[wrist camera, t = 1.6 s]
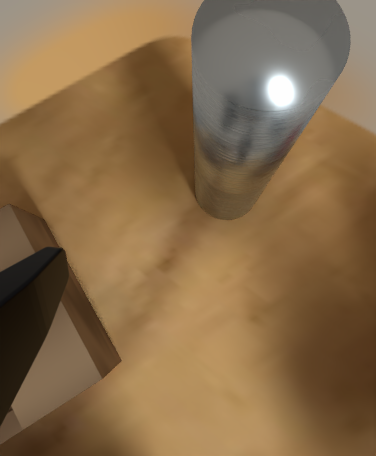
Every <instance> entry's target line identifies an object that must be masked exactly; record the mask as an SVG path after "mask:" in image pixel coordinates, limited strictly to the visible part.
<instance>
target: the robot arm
mask: <svg viewBox="0 0 376 456" xmlns="http://www.w3.org/2000/svg"><path fill="white" fill-rule="evenodd" d="M68 279H69V269H68V263H67V258H66V253H65V250H64V249H63V248H59V247H51V246H48V247H45V248H43V249H41V250H39V251H37V252H36V253H34V254H32V255H30V256H28V257H26V258H25V259H23V260H21V261H19V262H17V263H15V264H14V265H12V266H10V267H8V268H6V269H4V270H3V271H1V272H0V427H1V425H2V423H3V421H4V419H5V417H6V415H7V413H8V411H9V409H10V407H11V405H12V403H13V401H14V399H15V397H16V395H17V393H18V392H19V390H20V388H21V386H22V384H23V382H24V380H25V378H26V376H27V374H28V372H29V370H30V368H31V366H32V364H33V362H34V360H35V358H36V356H37V354H38V352H39V351H40V349H41V347H42V345H43V343H44V341H45V339H46V336H47V334H48V332H49V330H50V327H51V325H52V322H53V319H54V317H55V314H56V311H57V309H58V306H59V304H60V301H61V298H62V296H63V293H64V290H65V288H66V285H67V282H68Z"/></svg>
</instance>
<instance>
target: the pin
mask: <svg viewBox="0 0 376 456" xmlns="http://www.w3.org/2000/svg"><path fill="white" fill-rule="evenodd" d="M191 41H192V83H193V125H194V168H195V194H196V198H197V201H198V203H199V205H200V206H201V208H202V209H203V210H204V211H205V212H206V213H207V214H209V215H210V216H212V217H214V218H217V219H222V220H232V219H236V218H239V217H241V216H243V215H245V214H246V213H247V212H248V211H249V210H250V209H251V208H252V207H253V205H254V204H255V202H256V201H257V199H258V198H259V196H260V195H261V193H262V192H263V190H264V189H265V187H266V186H267V184H268V183H269V181H270V180H271V178H272V177H273V175H274V174H275V172H276V171H277V169H278V168H279V166H280V165H281V163H282V161H283V160H284V158H285V157H286V155H287V154H288V152H289V151H290V149H291V148H292V146H293V145H294V143H295V142H296V140H297V139H298V137H299V136H300V134H301V133H302V131H303V130H304V128H305V127H306V125H307V124H308V122H309V121H310V119H311V118H312V116H313V115H314V113H315V112H316V110H317V109H318V107H319V106H320V104H321V103H322V101H323V99H324V98H325V96H326V95H327V94H328V92H329V90H330V89H331V87H332V86H333V84H334V83H335V81H336V80H337V78H338V77H339V75H340V74H341V72H342V71H343V69H344V67H345V64H346V62H347V59H348V56H349V50H350V31H349V25H348V22H347V19H346V17H345V15H344V13H343V10H342V9H341V7H340V6H339V4H338V3H337V1H336V0H204V1H203V3H202V4H201V6H200V8H199V9H198V11H197V14H196V16H195V19H194V23H193V27H192V36H191Z"/></svg>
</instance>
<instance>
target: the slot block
mask: <svg viewBox="0 0 376 456" xmlns="http://www.w3.org/2000/svg"><path fill="white" fill-rule="evenodd" d="M48 246H51V247H59V246H58V244H57V242H56V240H55V239H54V237H53V235H52V233H51V231H50V230H49V228H48V226H47V224H46V222H45V220H44V219H41V218H39V217H37V216H35V215H33V214H31V213H28V212H26V211H24V210H22V209H20V208H18V207H15V206H13V205H11V204H8V205H6V206H4V207H2V208H1V209H0V272H1V271H3V270H4V269H6V268H8V267H10V266H12V265H14V264H15V263H17V262H19V261H21V260H23V259H25V258H26V257H28V256H30V255H32V254H34V253H36V252H37V251H39V250H41V249H43V248H45V247H48ZM67 263H68V262H67ZM68 269H69V279H68V282H67V285H66V288H65V290H64V293H63V296H62V298H61V301H60V304H59V306H58V309H57V311H56V314H55V317H54V319H53V322H52V325H51V327H50V330H49V332H48V334H47V336H46V339H45V341H44V343H43V345H42V347H41V349H40V351H39V352H38V354H37V356H36V358H35V360H34V362H33V364H32V366H31V368H30V370H29V372H28V374H27V376H26V378H25V380H24V382H23V384H22V386H21V388H20V390H19V392H18V393H17V395H16V397H15V399H14V401H13V403H12V405H11V407H10V409H9V411H8V413H7V415H6V417H5V419H4V421H3V423H2V425H1V427H0V444H2V443H3V442H5V441H7V440H8V439H10V438H11V437H13V436H14V435H16V434H17V433H19V432H21V431H22V430H24V429H25V428H27V427H28V426H30V425H31V424H33V423H35V422H36V421H38V420H39V419H41V418H42V417H44V416H45V415H47V414H49V413H50V412H52V411H53V410H55V409H56V408H58V407H59V406H61V405H63V404H64V403H66V402H67V401H69V400H70V399H72V398H73V397H75V396H77V395H78V394H80V393H81V392H83V391H84V390H86V389H87V388H89V387H91V386H92V385H94V384H95V383H97V382H98V381H100V380H102V379H103V378H104V377H105V376H106V375H107V374H108V373H109V372H110V371H111V370H112V369H114V368H115V367H116V366H117V365H118V364H119V363H120V362H121V359H120V357H119V355H118V354H117V352H116V350H115V348H114V346H113V344H112V343H111V341H110V339H109V337H108V335H107V333H106V332H105V330H104V328H103V326H102V324H101V323H100V321H99V319H98V317H97V315H96V313H95V312H94V310H93V308H92V306H91V304H90V302H89V301H88V299H87V297H86V295H85V293H84V292H83V290H82V288H81V286H80V284H79V282H78V281H77V279H76V277H75V275H74V273H73V271H72V270H71V268H70V266H69V264H68Z"/></svg>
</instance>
